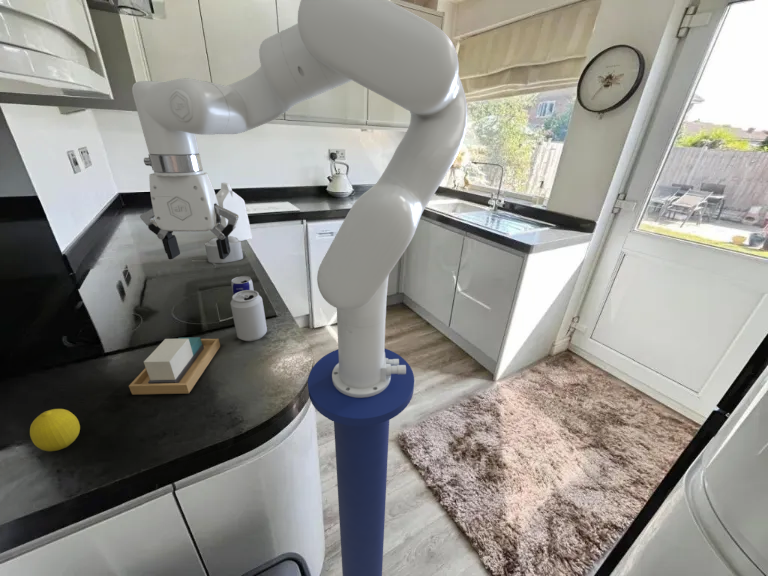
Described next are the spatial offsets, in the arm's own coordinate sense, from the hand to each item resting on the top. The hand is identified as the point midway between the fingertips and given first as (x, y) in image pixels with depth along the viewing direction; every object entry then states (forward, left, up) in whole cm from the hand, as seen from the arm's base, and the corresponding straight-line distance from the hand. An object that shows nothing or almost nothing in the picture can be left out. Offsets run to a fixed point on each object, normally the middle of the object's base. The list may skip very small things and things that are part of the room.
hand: (199, 256), depth 64 cm
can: (-3, -11, -26) cm, 29 cm away
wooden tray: (+9, +2, -26) cm, 28 cm away
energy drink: (+1, -20, -26) cm, 33 cm away
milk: (+31, -96, -26) cm, 104 cm away
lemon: (+18, +22, -26) cm, 39 cm away
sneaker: (+9, +2, -25) cm, 27 cm away
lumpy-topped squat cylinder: (+25, -68, -26) cm, 77 cm away
